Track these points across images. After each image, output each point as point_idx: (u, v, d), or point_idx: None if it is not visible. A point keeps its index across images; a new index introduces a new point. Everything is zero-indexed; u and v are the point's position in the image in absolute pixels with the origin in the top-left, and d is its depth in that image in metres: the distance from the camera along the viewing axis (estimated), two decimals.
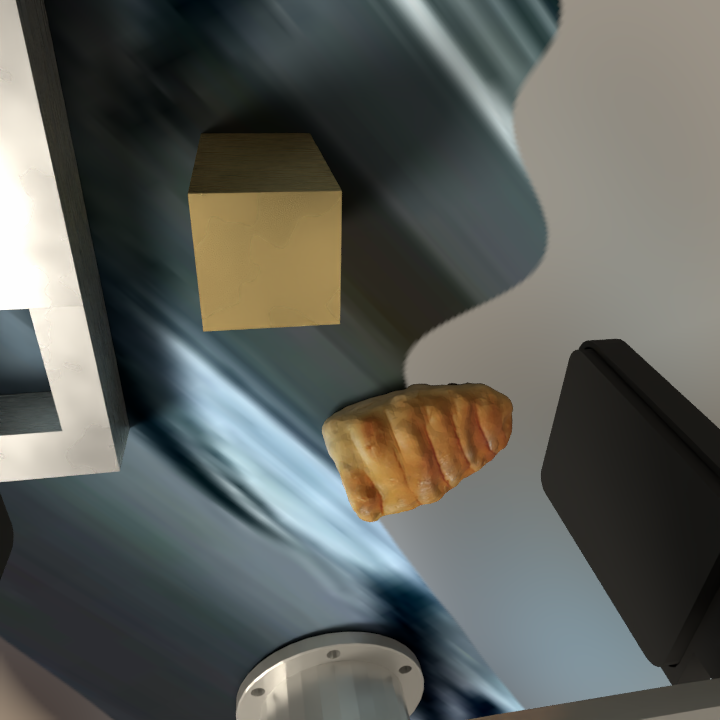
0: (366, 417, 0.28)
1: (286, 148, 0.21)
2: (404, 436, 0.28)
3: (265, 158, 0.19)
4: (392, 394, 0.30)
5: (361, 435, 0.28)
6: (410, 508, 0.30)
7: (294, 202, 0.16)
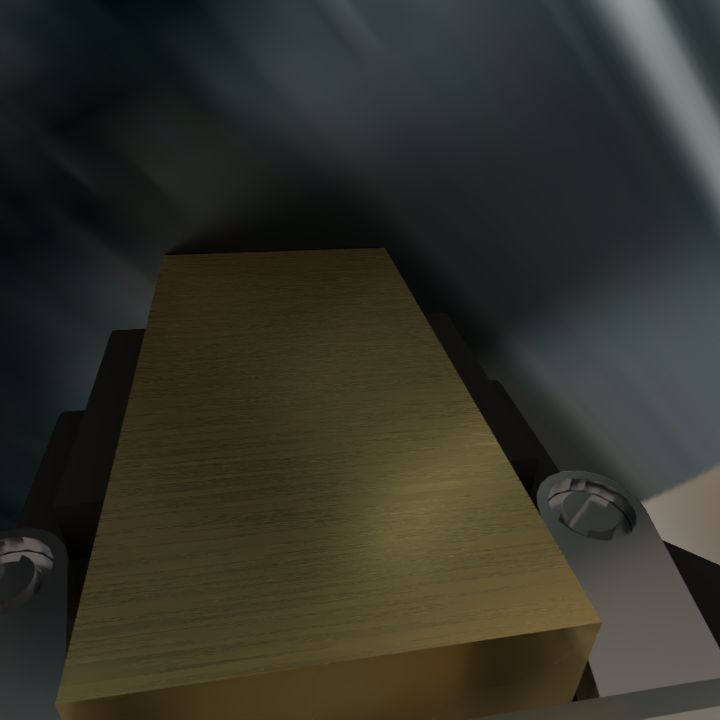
0: None
1: (352, 315, 0.09)
2: None
3: (311, 372, 0.08)
4: None
5: None
6: None
7: (441, 667, 0.05)
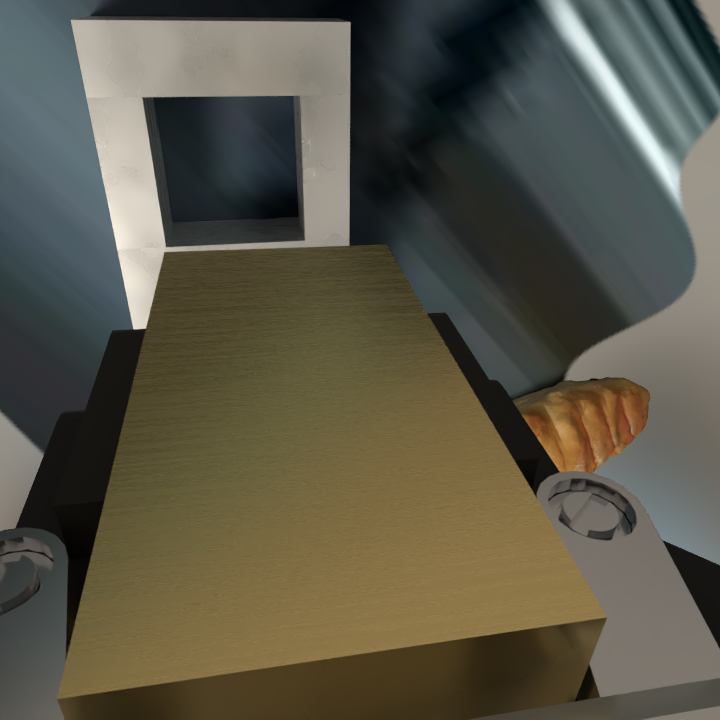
0: (529, 412, 0.33)
1: (353, 311, 0.09)
2: (565, 427, 0.32)
3: (313, 368, 0.08)
4: (544, 391, 0.34)
5: None
6: None
7: (445, 663, 0.05)
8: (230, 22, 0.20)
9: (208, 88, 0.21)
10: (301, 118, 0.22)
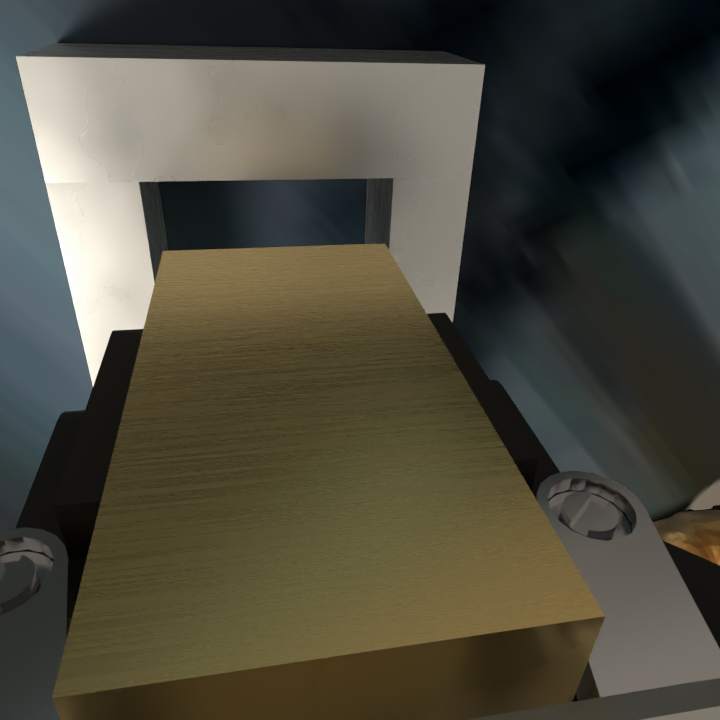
0: None
1: (352, 310, 0.09)
2: None
3: (311, 367, 0.08)
4: (657, 525, 0.26)
5: None
6: None
7: (442, 662, 0.05)
8: (290, 63, 0.12)
9: (248, 167, 0.13)
10: (392, 211, 0.14)
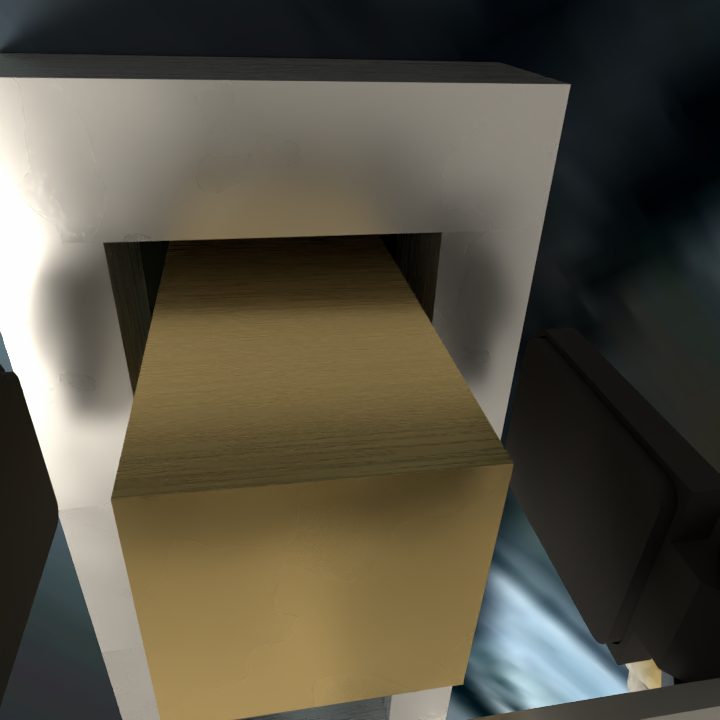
0: None
1: (336, 266, 0.11)
2: None
3: (301, 305, 0.09)
4: None
5: None
6: None
7: (392, 495, 0.06)
8: (308, 84, 0.09)
9: (250, 222, 0.10)
10: (438, 273, 0.11)
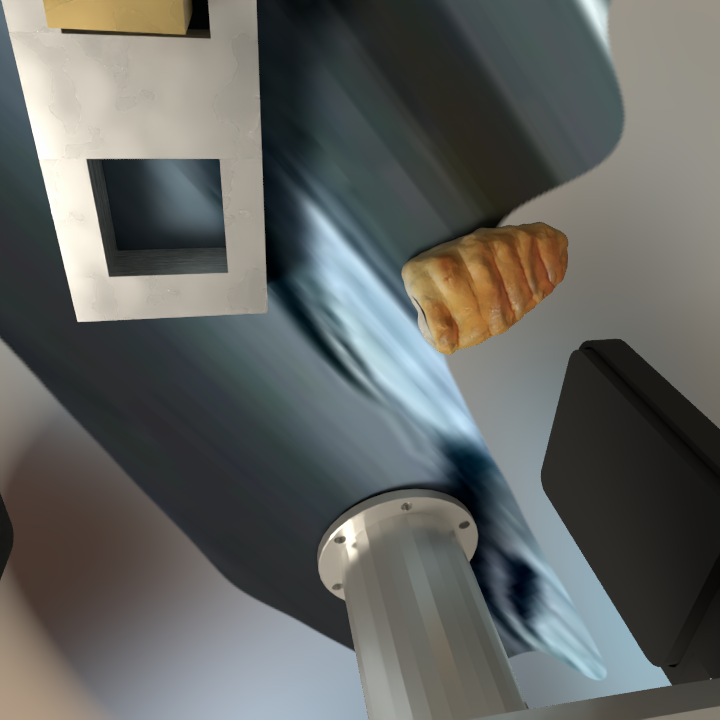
0: (441, 255, 0.32)
1: None
2: (477, 267, 0.32)
3: None
4: (460, 238, 0.34)
5: (438, 270, 0.32)
6: (481, 339, 0.35)
7: None
8: None
9: None
10: None
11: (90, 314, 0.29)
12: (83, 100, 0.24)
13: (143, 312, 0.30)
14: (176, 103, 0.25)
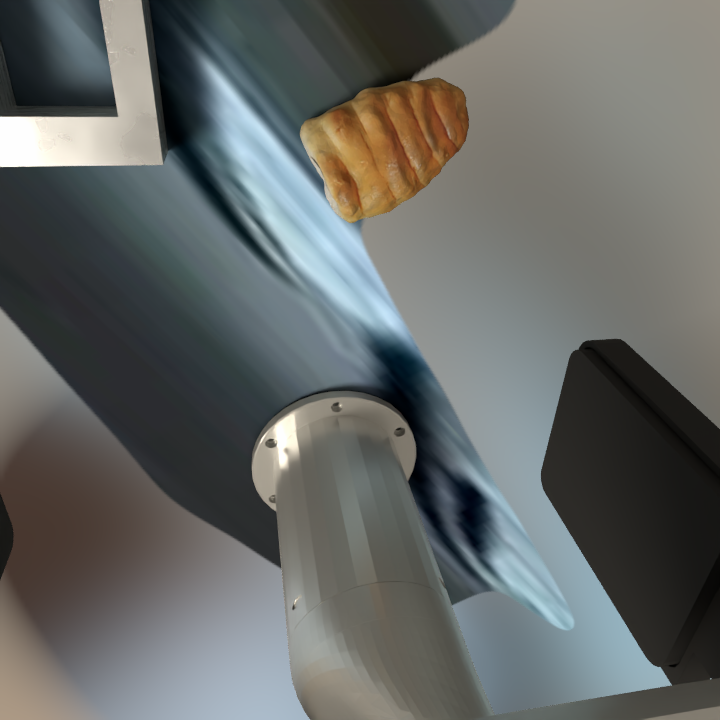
0: (335, 109, 0.33)
1: None
2: (368, 117, 0.32)
3: None
4: None
5: (331, 122, 0.32)
6: (385, 202, 0.35)
7: None
8: None
9: None
10: None
11: None
12: None
13: (36, 159, 0.30)
14: None
